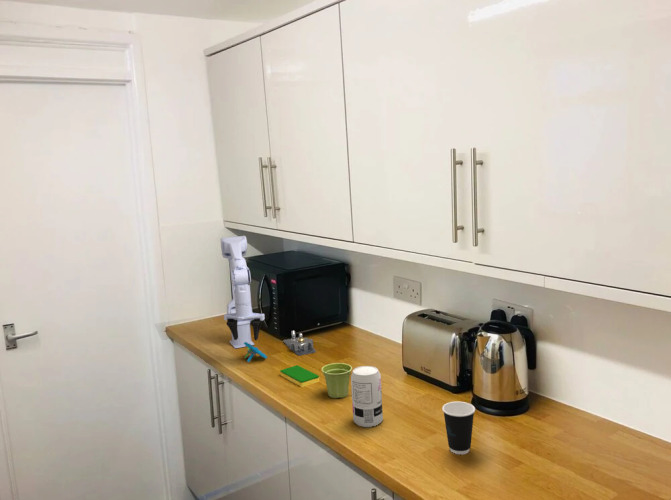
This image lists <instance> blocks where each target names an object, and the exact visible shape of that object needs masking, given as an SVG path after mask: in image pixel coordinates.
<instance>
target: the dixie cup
mask: <svg viewBox="0 0 671 500" xmlns="http://www.w3.org/2000/svg"><path fill="white" fill-rule="evenodd" d="M441 410H442V412H443V417H444V423H445V430H446V437H447V438H446V439H447V443H448V448H449V450H450V452H451V453H452V452H453V453H452V454H454V453H455V455H460V454H461V456H462V455H466V454H468V453H469V452H470V449H471V447H472V438H473V437H472V436H473V428H474V426H473V424H474V417H475V416H474V415H475V411H476V407H475V406H474V405H473V404H472V403H470V402H465V401H459V400H458V401H450V402H447V403H444V404H443V405H442V409H441Z"/></svg>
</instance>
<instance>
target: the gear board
mask: <svg viewBox="0 0 671 500" xmlns="http://www.w3.org/2000/svg"><path fill="white" fill-rule="evenodd" d="M282 342H284V343H285V344H284V343H283V344H284V345H285V346H287V347H288V349H289V350H291V351H292V352H293V353H294V354H295V355H297V356H304V355H310V354H314V353H316V352H317V349H315V348H314V339H312V338H310V339H309V338H308V337H303V333H302V332H299V333H298V337H296V331H295V330H291V338H288V339H283V340H282Z"/></svg>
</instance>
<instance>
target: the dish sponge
mask: <svg viewBox="0 0 671 500" xmlns="http://www.w3.org/2000/svg"><path fill="white" fill-rule="evenodd" d="M279 372H280V377H282V378H284V379H286V380H288V381H290V382H291V383H293V384H295V385H297V386H298V387H300V388H304V387H308V386H310V385H313V384H316V383H319V382H320V375H318V374H317V373H315V372H313V371H311V370H308V369H306V368H305V367H302V366H300V365H298V364H297V365H293V366H290V367H286V368H284V369H283V368H282V369H280V370H279Z"/></svg>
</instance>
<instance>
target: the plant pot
mask: <svg viewBox="0 0 671 500" xmlns="http://www.w3.org/2000/svg"><path fill="white" fill-rule="evenodd" d="M352 371H353V367H352V366H351V364H348V363H342V362H333V363H329V364H325V365H324V366H322V367H321V372H322V373H323V376H324V379H325V384H326V388H327V389H326V390H327V395H328V397H330V398H333V399H338V398H341V399H343V398H345V397H347V396H348V395H349V386H350V385H349V384H350V379H351V375H352Z"/></svg>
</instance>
